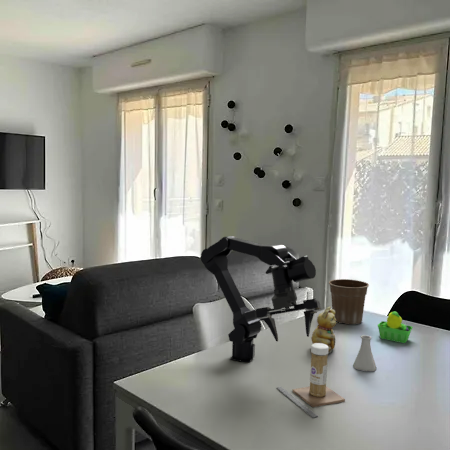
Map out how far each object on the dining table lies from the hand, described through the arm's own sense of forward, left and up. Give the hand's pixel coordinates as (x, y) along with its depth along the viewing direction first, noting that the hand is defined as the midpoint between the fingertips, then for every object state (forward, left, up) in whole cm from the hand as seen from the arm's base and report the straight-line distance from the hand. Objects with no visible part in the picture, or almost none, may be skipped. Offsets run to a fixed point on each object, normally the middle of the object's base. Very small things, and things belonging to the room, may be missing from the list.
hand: (292, 339), depth 139 cm
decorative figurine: (+6, +29, -12) cm, 32 cm away
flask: (+20, +17, -12) cm, 29 cm away
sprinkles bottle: (+9, -9, -12) cm, 17 cm away
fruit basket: (+30, +50, -12) cm, 60 cm away
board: (+9, -9, -12) cm, 17 cm away
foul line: (+4, -14, -12) cm, 19 cm away
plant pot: (+12, +69, -12) cm, 71 cm away
